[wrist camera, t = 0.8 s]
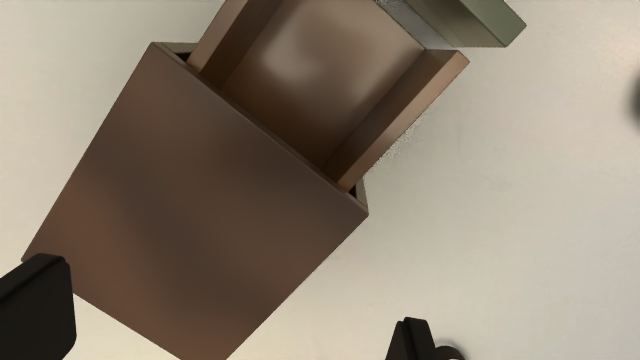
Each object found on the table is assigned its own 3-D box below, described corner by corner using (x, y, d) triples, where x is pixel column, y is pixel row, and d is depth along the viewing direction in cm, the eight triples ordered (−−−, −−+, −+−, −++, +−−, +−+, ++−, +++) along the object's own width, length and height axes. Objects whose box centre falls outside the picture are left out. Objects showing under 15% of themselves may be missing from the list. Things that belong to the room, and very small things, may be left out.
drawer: (378, -180, 19) (402, -319, 12) (521, -28, 21) (615, -66, 14) (200, 82, 25) (141, 98, 17) (329, 184, 27) (324, 237, 19)
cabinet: (220, 43, 24) (150, 40, 15) (359, 158, 27) (369, 215, 18) (119, 193, 29) (19, 260, 20) (246, 282, 31) (208, 377, 22)
